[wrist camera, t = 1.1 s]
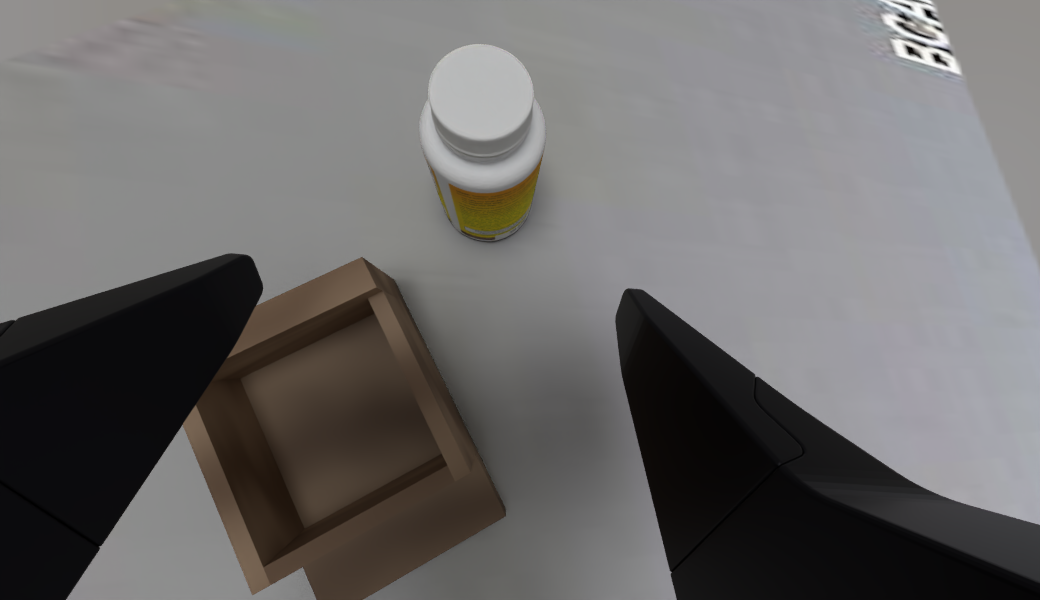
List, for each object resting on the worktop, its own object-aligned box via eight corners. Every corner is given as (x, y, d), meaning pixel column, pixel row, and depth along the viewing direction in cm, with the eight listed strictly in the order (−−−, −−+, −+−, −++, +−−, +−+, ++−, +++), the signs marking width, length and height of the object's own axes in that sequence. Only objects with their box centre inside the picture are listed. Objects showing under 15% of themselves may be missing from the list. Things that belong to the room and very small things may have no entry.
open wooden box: (505, 508, 21) (509, 562, 16) (334, 607, 20) (273, 704, 14) (394, 279, 22) (361, 257, 17) (227, 358, 21) (135, 361, 16)
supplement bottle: (548, 206, 24) (586, 99, 14) (483, 261, 23) (474, 191, 13) (490, 145, 24) (487, -3, 14) (425, 197, 23) (372, 80, 13)
